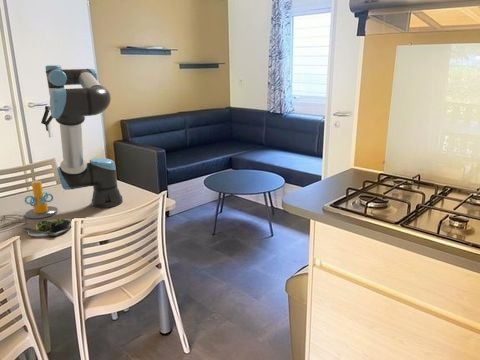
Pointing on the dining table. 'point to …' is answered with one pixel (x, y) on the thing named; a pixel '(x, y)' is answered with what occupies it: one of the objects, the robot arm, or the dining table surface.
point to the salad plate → (50, 228)
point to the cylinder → (39, 198)
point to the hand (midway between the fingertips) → (63, 136)
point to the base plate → (33, 215)
